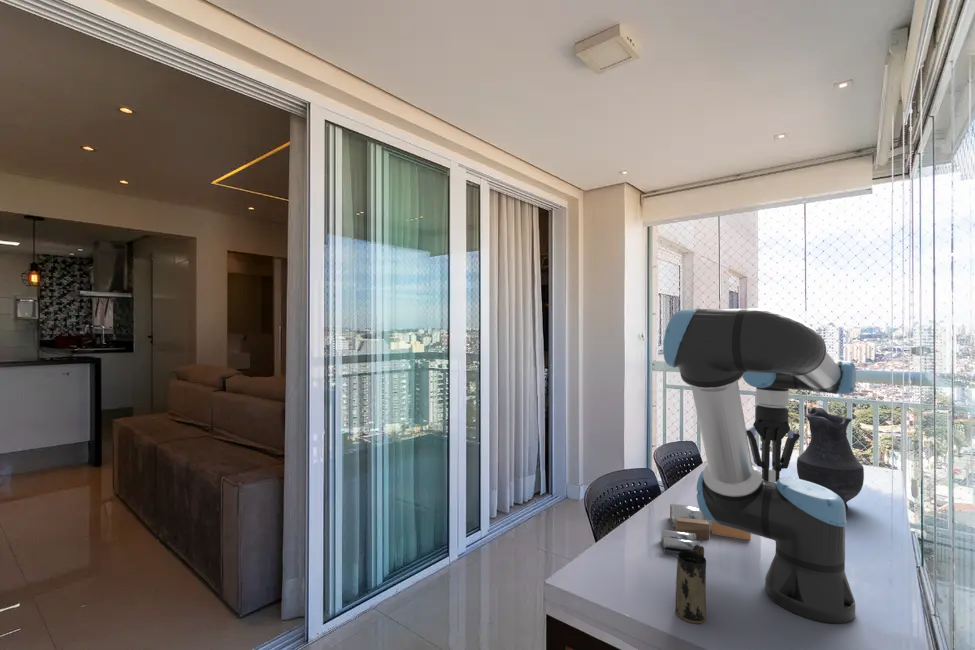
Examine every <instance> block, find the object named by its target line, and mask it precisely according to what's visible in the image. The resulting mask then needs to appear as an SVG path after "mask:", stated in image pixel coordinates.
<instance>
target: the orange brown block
mask: <svg viewBox="0 0 975 650" xmlns="http://www.w3.org/2000/svg"><path fill="white" fill-rule="evenodd" d="M710 529H712V530H711V534H712V535H716V534H718V535H717V536H722V535H724V536H723V537H728V536H729V537H730V538H734V537H735V538H736V539H740V538H741V539H742V540H746V539H748V540H747V541H751V535H752V533H748V532H745V531H741V530H738V529H734V528H731V527H727V526H722V525H720V524H718V523H716V522H713V521H710ZM729 537H728V538H729Z"/></svg>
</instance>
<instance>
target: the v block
mask: <svg viewBox="0 0 975 650" xmlns="http://www.w3.org/2000/svg"><path fill="white" fill-rule="evenodd" d="M660 534H661V537H660V543H661V545H662V549H663V553H664V554H665V555H669V556H670V555H672V556H678V554H679V553H680V552H683V551H690V550H692V549H693V548H694V546H695V545H698V546H701V542H700V541H699V540H697V538H696V534H694V533H686V532H678V531H675V530H668V529H661V533H660Z"/></svg>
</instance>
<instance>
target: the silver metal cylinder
mask: <svg viewBox="0 0 975 650" xmlns="http://www.w3.org/2000/svg"><path fill="white" fill-rule="evenodd" d="M671 504H672V510H671V516H672V521H671V523H672V524H671V525H672V527H673V528H675V517H680V518H689V519H698V520H707V518H706V517H705V516H704V515H703V514H702V513H701V511H700V508H699V506H698V505H688V504H687V505H686V504H676V503H671Z"/></svg>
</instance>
